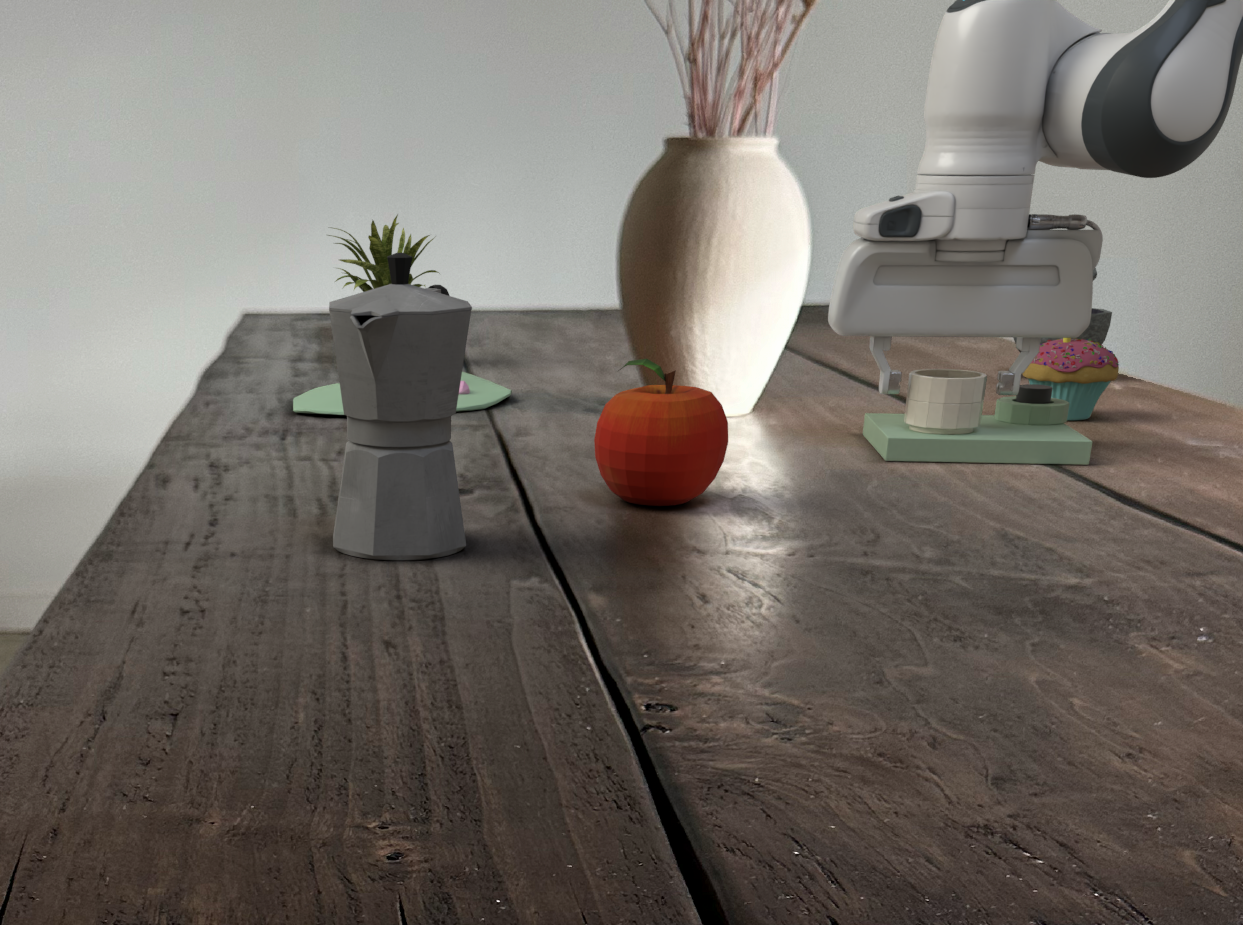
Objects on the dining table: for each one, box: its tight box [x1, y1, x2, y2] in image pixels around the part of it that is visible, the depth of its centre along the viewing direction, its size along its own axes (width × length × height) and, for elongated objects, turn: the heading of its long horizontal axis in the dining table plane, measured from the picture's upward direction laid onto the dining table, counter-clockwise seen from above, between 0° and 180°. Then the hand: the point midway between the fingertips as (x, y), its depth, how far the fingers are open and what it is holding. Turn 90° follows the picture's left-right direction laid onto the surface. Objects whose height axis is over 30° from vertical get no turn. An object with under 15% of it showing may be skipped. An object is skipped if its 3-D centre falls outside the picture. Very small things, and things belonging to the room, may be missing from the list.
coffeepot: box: [328, 252, 473, 561], centre depth 109 cm, size 15×9×18 cm, turn 159°
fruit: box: [593, 358, 729, 507], centre depth 122 cm, size 10×10×10 cm
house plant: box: [327, 214, 442, 292], centre depth 193 cm, size 14×14×16 cm
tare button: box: [1015, 383, 1052, 404], centre depth 145 cm, size 3×3×2 cm
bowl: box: [903, 368, 988, 435], centre depth 141 cm, size 6×6×4 cm
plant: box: [292, 371, 513, 416], centre depth 168 cm, size 25×21×9 cm
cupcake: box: [1021, 338, 1120, 421], centre depth 157 cm, size 9×8×12 cm
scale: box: [862, 395, 1093, 466], centre depth 143 cm, size 16×13×4 cm
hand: (947, 394), depth 140 cm, fingers open, 8 cm apart
